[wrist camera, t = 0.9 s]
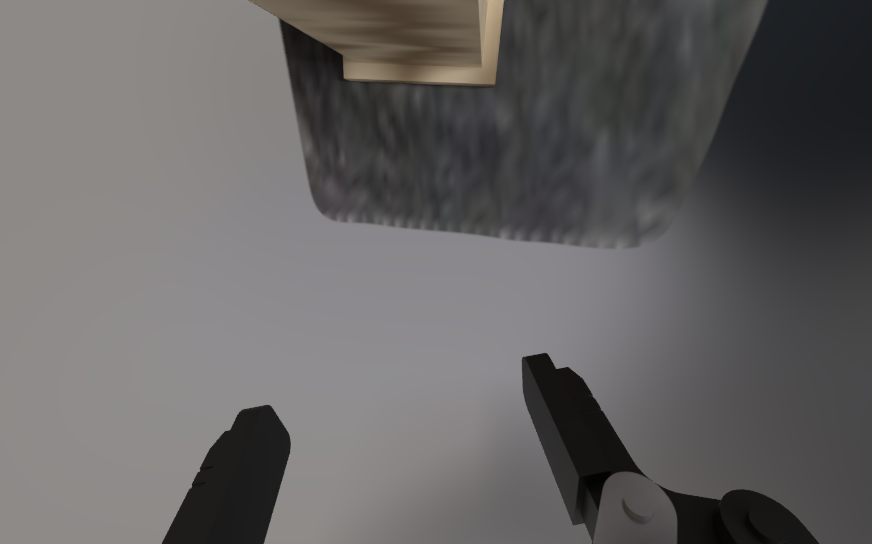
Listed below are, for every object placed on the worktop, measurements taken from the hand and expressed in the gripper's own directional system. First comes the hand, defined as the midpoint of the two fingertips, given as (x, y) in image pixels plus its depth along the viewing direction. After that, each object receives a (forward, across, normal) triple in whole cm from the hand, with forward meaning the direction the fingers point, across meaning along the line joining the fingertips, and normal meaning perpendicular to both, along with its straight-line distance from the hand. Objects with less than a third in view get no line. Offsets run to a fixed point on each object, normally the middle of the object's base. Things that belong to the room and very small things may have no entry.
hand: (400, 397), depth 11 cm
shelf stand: (+22, -5, -13) cm, 26 cm away
